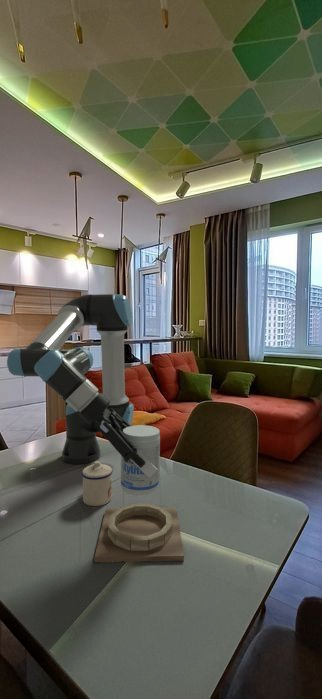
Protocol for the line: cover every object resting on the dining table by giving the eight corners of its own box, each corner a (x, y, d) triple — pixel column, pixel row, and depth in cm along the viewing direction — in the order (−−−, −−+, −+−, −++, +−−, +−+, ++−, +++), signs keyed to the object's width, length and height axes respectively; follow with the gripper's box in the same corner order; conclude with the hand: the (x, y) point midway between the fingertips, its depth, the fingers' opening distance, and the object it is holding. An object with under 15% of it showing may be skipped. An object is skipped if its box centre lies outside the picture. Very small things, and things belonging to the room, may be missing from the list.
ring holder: (105, 512, 94) (105, 500, 94) (176, 511, 95) (176, 499, 95) (94, 562, 74) (94, 546, 74) (183, 560, 75) (184, 545, 75)
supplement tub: (119, 497, 79) (119, 436, 78) (122, 479, 88) (122, 424, 87) (160, 496, 79) (160, 436, 78) (158, 478, 89) (159, 424, 88)
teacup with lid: (115, 504, 99) (115, 465, 98) (84, 509, 96) (83, 470, 95) (107, 485, 110) (107, 451, 110) (79, 490, 107) (79, 454, 106)
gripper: (86, 402, 93) (143, 457, 95) (67, 426, 71) (141, 497, 73) (105, 383, 93) (161, 439, 95) (92, 401, 71) (166, 473, 73)
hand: (152, 464), depth 84 cm, fingers closed on supplement tub, 9 cm apart
